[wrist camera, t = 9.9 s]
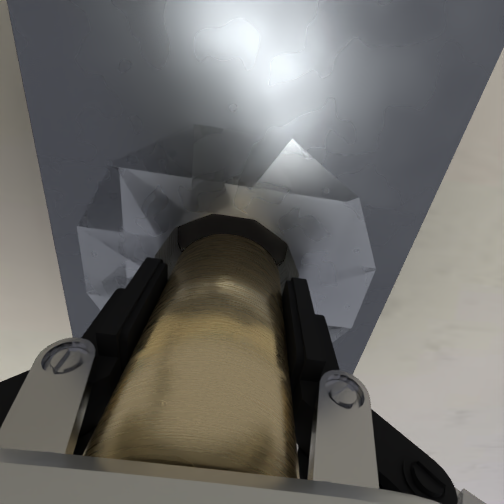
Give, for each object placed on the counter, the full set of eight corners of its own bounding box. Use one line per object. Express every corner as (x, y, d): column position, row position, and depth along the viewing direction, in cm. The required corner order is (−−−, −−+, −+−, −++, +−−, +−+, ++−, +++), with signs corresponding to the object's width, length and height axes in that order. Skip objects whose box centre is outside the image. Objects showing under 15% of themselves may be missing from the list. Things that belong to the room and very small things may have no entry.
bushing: (175, 226, 11) (37, 447, 4) (289, 242, 12) (333, 479, 5) (173, 315, 14) (78, 560, 7) (269, 327, 14) (279, 578, 7)
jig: (72, -65, 10) (-22, -141, 7) (451, 7, 11) (539, -31, 8) (112, 320, 19) (79, 372, 16) (325, 347, 20) (339, 403, 16)
